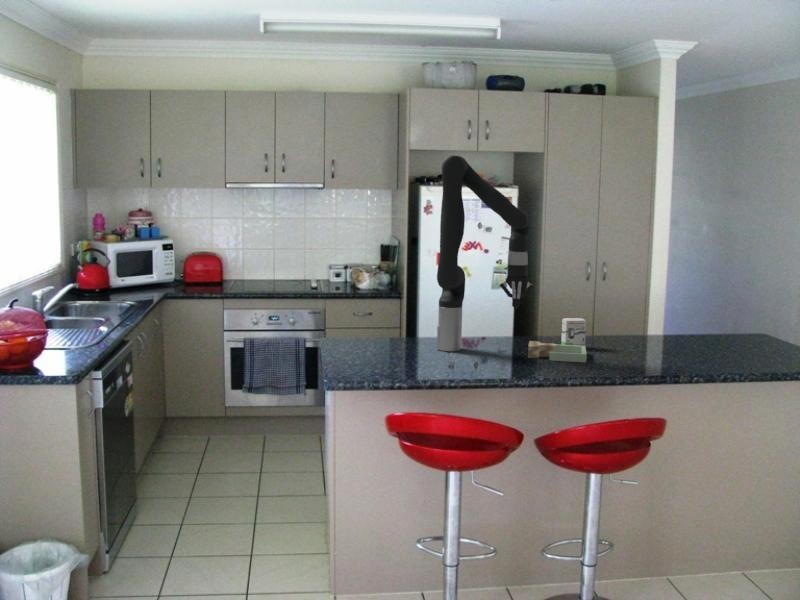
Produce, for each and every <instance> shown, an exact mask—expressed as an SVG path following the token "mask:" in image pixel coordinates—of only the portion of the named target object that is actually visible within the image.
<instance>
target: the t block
mask: <svg viewBox="0 0 800 600" xmlns="http://www.w3.org/2000/svg"><path fill="white" fill-rule="evenodd" d="M555 344H556V343H550V342H549V343H547V342H540V341H538V340H537V341H536V340H529V342H528V348H527V350H528V353H527V354H528V355H527V358H528V359H529V358H530V359H539V358H540V357H541V358H550V352H555Z"/></svg>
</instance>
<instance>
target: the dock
mask: <svg viewBox="0 0 800 600" xmlns="http://www.w3.org/2000/svg"><path fill="white" fill-rule="evenodd" d="M554 344H555V352H550V357H549V361H554V362H568V363H569V362H570V363H587V356H588V355H587V349H586V348H587V347H586V345H585V346H575V345H561V344H556V343H554Z"/></svg>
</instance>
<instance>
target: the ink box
mask: <svg viewBox="0 0 800 600" xmlns="http://www.w3.org/2000/svg"><path fill="white" fill-rule="evenodd" d="M561 321H562V322H561V323H562V324H561V338H560V339H561V343H560V345H575V346H585V347H586V333H587V330H586V329H587V320H586V319H584V318H582V317H572V318H571V317H565V318H564V317H563V318H562V319H561Z"/></svg>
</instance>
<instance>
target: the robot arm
mask: <svg viewBox="0 0 800 600" xmlns="http://www.w3.org/2000/svg"><path fill="white" fill-rule="evenodd" d="M441 179H442V180H441V181H442V198H441V208H440V209H441V210H440V224H439V226H440V227H439V229H440V230H439V234H440V236H439V257H438V259H439V260H438V266H437V270H436V271H437V272H436V273H437V274H436V282H437V284H438V285H439V287H440V288H441V289H442V291H441V295H440V297H439V300H438V322H437V323H438V325H436V327H437V328H436V329H437V331H436V334H437V335H436V350H437V351H444V352H458V351H461V350H462V332H463V330H462V329H463V304H464V303H463V302H464V298H465V294H466V293H465V292H466V291H465V289H466V274H465V271H464V269H463V268H462V267H461V266H459V265H458V262H459V261H458V259H459V252H460V247H461V244H462V241H463V238H464V232H465V222H466V221H465V218H466V217H465V208H464V200H463V185H464V186H466V187H467V188H468V189H469V190H470V191H471V192H472V193H474V194H475V195H476V196H477V198H478V199H479V200H480V201H482V203H483V204H484V205H485V206H486V207H488V208H489V209H490V210H492V211H493V212H494V213H495V214H497V215H498V216H499V217H500V218H501V219H502V220H503V221H505V223H506V224H507V225H508V226H510V237H509V239H508V255H507V271H506V278H505V281H504V282H501V283H500V287H501V288H502V290H503V292H504V293H505V294H506V295H507V297H508V298H511V299H512V300H511V301H512V302H511V305H512V307H513V309H519V308H520V306H521V299H522V298H525V297H526V296H527V295H528V293H530V291H531V290H532V289H533V288H534V284H532V283H530V281H529V278H528V264H529V259H528V258H529V257H528V243H529V242H528V236H529V227H530V216H529V215H528V213H527V212H526V211H524V210H520V209H519V208H518V207H516V206H515V204H513V203H512V202H511V201H510V199H509V198H507V197H506V196H505V195H504V194H503V193H502V192H500V191H499V190H498V189H496V188H495V187H494V186H492V185H491V184H490V183H488V181H486V180H485V179H484V178H483V177H482V176H480V175H479V173H478V172H477V171H475V170H474V168H473V167H472V166H471V165H470V164H469V162H468V161H467V160H466V159H465V158H464V157H463V156H460V155H455V154H454V155H449V156H447V157H446V158H445V159H443V161H442V164H441ZM508 287H509V288H510V290H511V292H510V290H509V289H508ZM525 287H526V289H525V290H524V292H523V293H522V290H523V289H524V288H525Z"/></svg>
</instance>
